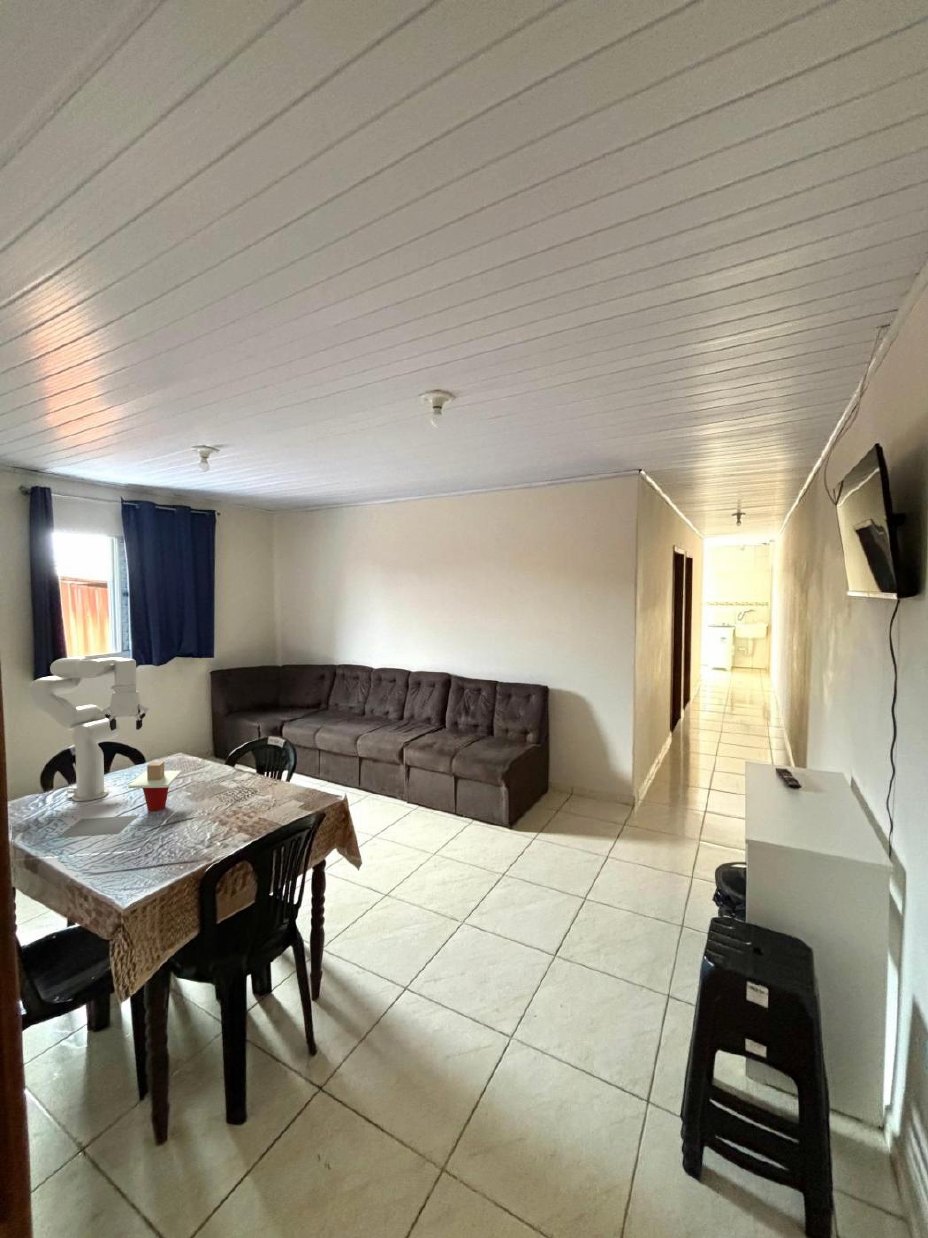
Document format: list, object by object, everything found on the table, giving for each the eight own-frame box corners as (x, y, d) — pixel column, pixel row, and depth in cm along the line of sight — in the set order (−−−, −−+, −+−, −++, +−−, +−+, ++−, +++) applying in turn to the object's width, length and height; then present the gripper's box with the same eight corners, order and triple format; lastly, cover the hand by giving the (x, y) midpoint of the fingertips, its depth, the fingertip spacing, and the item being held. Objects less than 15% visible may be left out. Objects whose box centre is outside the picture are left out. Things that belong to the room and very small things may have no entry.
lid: (128, 788, 197) (128, 770, 196) (144, 773, 211) (144, 757, 210) (167, 787, 199) (167, 770, 198) (181, 772, 213) (181, 756, 212)
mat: (55, 839, 180) (55, 837, 180) (81, 820, 196) (81, 818, 195) (118, 835, 183) (118, 833, 183) (138, 816, 199) (138, 815, 199)
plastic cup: (141, 817, 198) (141, 787, 197) (140, 808, 207) (139, 779, 206) (173, 811, 204) (173, 781, 204) (170, 802, 213) (170, 773, 212)
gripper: (97, 690, 208) (98, 732, 208) (144, 689, 211) (144, 731, 211) (107, 687, 215) (108, 727, 216) (152, 686, 218) (152, 726, 219)
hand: (126, 729), depth 213 cm, fingers open, 9 cm apart
